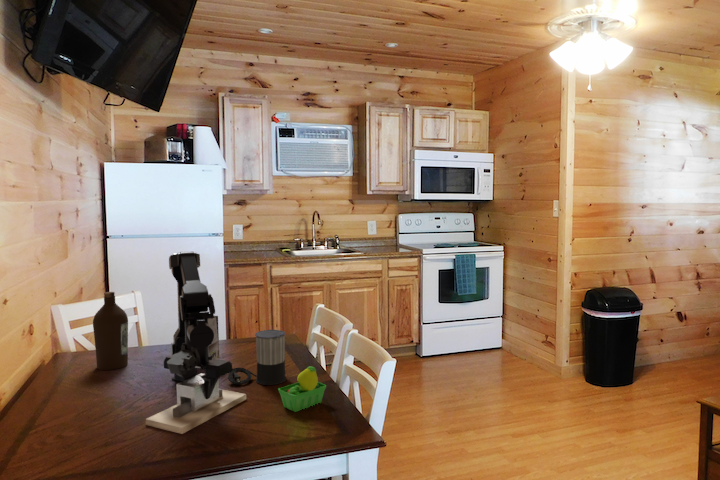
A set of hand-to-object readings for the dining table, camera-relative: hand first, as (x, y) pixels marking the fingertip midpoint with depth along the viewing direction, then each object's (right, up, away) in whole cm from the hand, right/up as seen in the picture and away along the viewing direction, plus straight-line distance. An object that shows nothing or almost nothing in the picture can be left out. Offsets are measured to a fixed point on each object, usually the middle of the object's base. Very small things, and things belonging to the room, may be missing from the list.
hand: (198, 396), depth 137 cm
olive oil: (-41, -2, +39) cm, 57 cm away
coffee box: (-11, -1, +41) cm, 43 cm away
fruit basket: (+27, -4, +4) cm, 28 cm away
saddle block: (0, -2, 0) cm, 2 cm away
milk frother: (+11, -2, +23) cm, 26 cm away
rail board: (0, -4, 0) cm, 4 cm away
